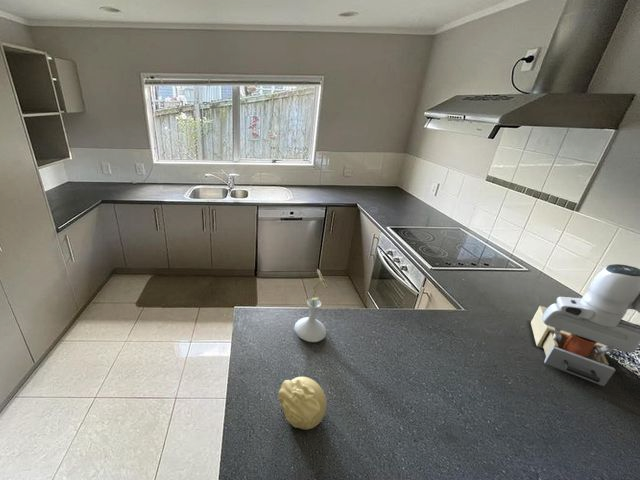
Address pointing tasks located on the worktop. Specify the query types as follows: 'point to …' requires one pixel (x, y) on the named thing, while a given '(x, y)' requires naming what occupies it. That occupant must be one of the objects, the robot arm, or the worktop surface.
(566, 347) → the cup
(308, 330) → the flower in vase
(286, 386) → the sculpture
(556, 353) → the drawer
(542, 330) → the box
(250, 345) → the worktop surface
